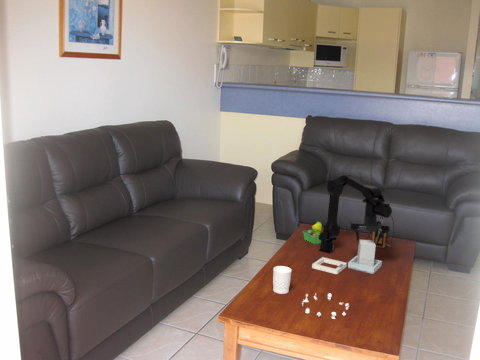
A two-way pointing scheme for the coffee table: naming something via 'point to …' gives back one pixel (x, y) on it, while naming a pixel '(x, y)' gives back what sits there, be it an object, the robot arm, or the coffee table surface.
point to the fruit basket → (313, 234)
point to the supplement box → (366, 252)
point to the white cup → (281, 279)
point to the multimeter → (383, 237)
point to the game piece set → (328, 299)
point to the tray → (353, 265)
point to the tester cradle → (331, 270)
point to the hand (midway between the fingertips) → (367, 243)
